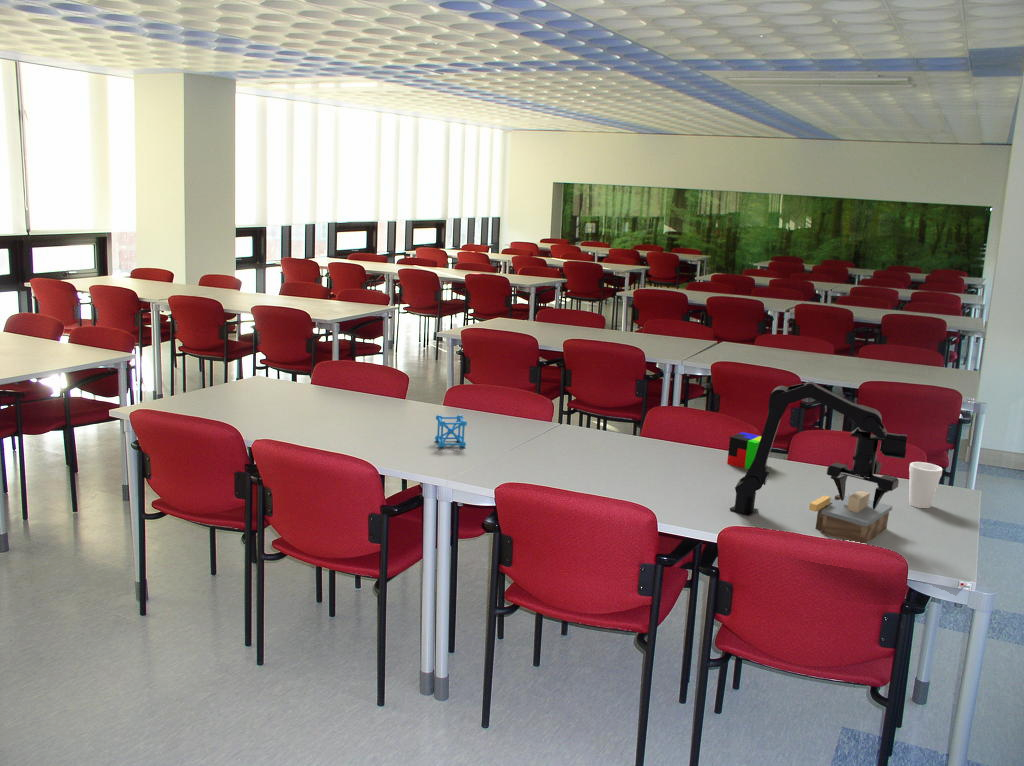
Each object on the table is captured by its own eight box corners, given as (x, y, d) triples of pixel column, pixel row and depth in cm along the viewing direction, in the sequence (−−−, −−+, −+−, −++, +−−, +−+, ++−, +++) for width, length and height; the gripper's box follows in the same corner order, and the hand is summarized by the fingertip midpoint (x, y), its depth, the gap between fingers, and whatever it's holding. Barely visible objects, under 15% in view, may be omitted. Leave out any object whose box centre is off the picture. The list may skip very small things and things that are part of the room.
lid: (866, 526, 250) (869, 509, 248) (809, 510, 260) (812, 493, 259) (891, 509, 264) (894, 493, 263) (836, 494, 275) (839, 478, 274)
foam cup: (897, 502, 290) (904, 464, 287) (914, 498, 295) (920, 460, 292) (925, 512, 282) (932, 472, 279) (941, 507, 287) (948, 468, 284)
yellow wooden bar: (815, 511, 255) (816, 505, 254) (809, 509, 256) (809, 503, 256) (829, 503, 262) (830, 497, 262) (823, 501, 264) (824, 495, 263)
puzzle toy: (739, 458, 328) (742, 431, 326) (765, 464, 322) (768, 438, 320) (727, 463, 321) (730, 436, 318) (753, 470, 315) (756, 443, 312)
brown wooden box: (862, 546, 252) (866, 521, 250) (811, 530, 261) (815, 507, 259) (886, 529, 266) (890, 505, 264) (837, 515, 275) (840, 492, 273)
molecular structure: (438, 448, 319) (439, 421, 317) (434, 440, 328) (435, 413, 326) (466, 448, 321) (467, 421, 319) (461, 440, 331) (462, 413, 329)
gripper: (908, 455, 257) (900, 507, 261) (844, 440, 269) (837, 490, 273) (895, 463, 249) (887, 516, 253) (829, 447, 261) (822, 498, 264)
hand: (858, 504), depth 261 cm, fingers open, 9 cm apart
